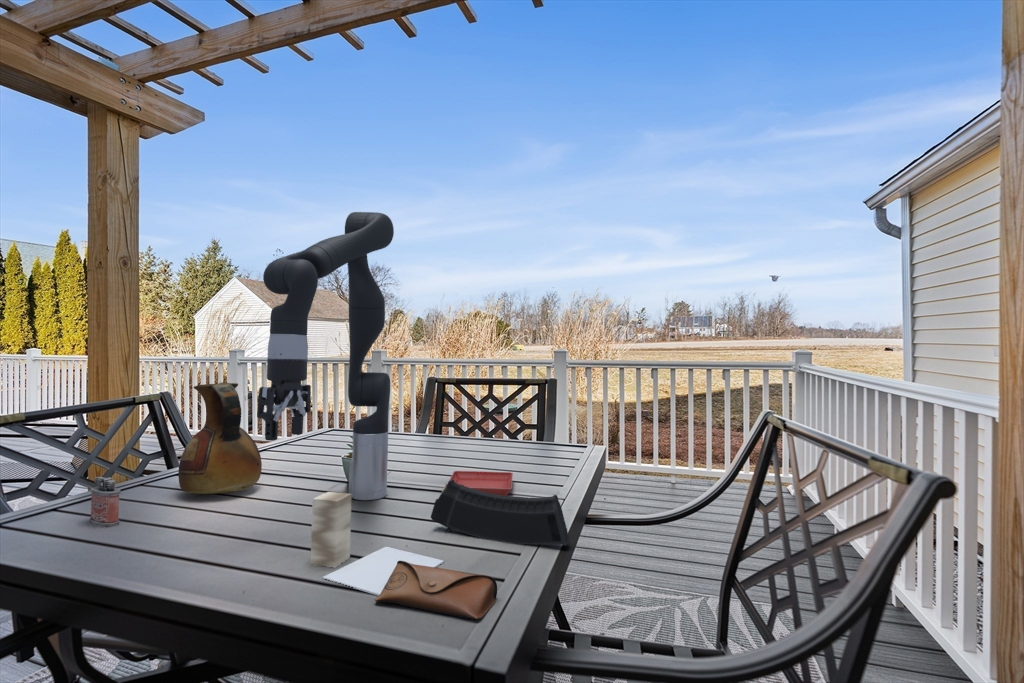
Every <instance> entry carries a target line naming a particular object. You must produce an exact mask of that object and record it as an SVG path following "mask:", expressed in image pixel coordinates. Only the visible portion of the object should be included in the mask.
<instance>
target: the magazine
mask: <svg viewBox="0 0 1024 683" xmlns="http://www.w3.org/2000/svg"><path fill="white" fill-rule="evenodd" d="M449 480H450V479H449ZM449 480H448V481H447V483H448V484H447V483H445V485H444V487H443V489H442V491H441V492H440V495H439V497H438V498H436V499H435V500H434V504H433V507H432V511H431V514H430V519H431V520H432V521H433V522H436V523H438V524H440V525H442V526H444V527H446V531H448V532H450V530H453V531H455V532H459V533H463V534H466V535H470V536H471V537H477V538H480V539H483V540H489V541H495V542H501V543H506V544H507V543H508V544H517V545H518V544H519V545H546V546H547V545H554V546H555V545H556V546H557V545H558V546H559V545H562V546H567V545H569V543H570V536H569V532H568V528H567V524H566V520H565V517H564V514H563V513H564V512H563V508H562V505H561V503H560V501H559V497H558V495H557V494H553V495H552V496H546V497H524V496H513V495H511V496H510V495H506V496H503V495H497V494H492V493H487V492H482V491H479V490H475V489H472V488H469V487H466V486H464V485H460V484H457V483H455V482H454V480H450V481H449Z"/></svg>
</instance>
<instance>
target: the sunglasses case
mask: <svg viewBox="0 0 1024 683" xmlns="http://www.w3.org/2000/svg"><path fill="white" fill-rule="evenodd" d="M497 595H498V583H497V580H496V579H495V578H494V577H492V576H490V575H486V574H473V573H467V572H463V571H456V570H452V569H447V568H441V567H436V568H435V567H429V566H422V565H415V564H411V563H408V562H405V561H398V562H397V565H396V567H395V569H394V570H393V572H392V574H391V576H390V577H389V579H388V581H387V583H386V585H385V586H384V588H383V590H382V592H381V594H380V595H379V596H378V595H377V597H375V598H374V601H375V602H378V603H379V602H380V603H381V602H382V603H390V604H396V605H401V606H405V607H409V608H410V607H411V608H415V609H419V610H420V609H421V610H425V611H428V612H433V613H437V614H440V615H446V616H451V617H452V616H453V617H459V618H466V619H473V620H474V619H475V620H480V619H482V618H483V617H484V616H486V615H487V613H488V612H489V611H490V610H491V609H492V607H493V605H495V603H496V600H497Z"/></svg>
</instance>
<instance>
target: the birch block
mask: <svg viewBox="0 0 1024 683" xmlns="http://www.w3.org/2000/svg"><path fill="white" fill-rule="evenodd" d="M351 522H352V497H351V494H348V493H347V492H346V493H345V492H336V491H335V492H334V491H327V492H323V494H320V495H318V496H316V497H314V498H312V502H311V533H310V534H311V536H310V537H311V541H310V566H313V565H316V566H315V567H321V566H326V567H325V568H330V567H333V568H332V569H336V568H338V567H339V566H340V565H342V564H343V563H345V562H346V561H347V560H348V558H349V557H350V558H351V534H352V533H351V531H352V530H351V528H352V523H351ZM350 558H349V559H350ZM346 559H347V560H346ZM345 560H346V561H345ZM342 562H343V563H342ZM341 563H342V564H341ZM337 566H338V567H337Z"/></svg>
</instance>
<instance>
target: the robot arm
mask: <svg viewBox="0 0 1024 683" xmlns="http://www.w3.org/2000/svg"><path fill="white" fill-rule="evenodd" d="M394 229H395V228H394V224H393V221H392V219H391V217H390V216H389V215H387V214H385V213H383V212H377V211H376V212H373V211H353V212H350V213H349V214H348V215H347V217H346V219H345V223H344V234H340V235H336V236H335V235H334V236H331V237H328V238H325V239H323V240H320V241H318V242H316V243H314V244H312V245H310V246H309V247H307V248H305V249H303V250H302V251H298V252H294V253H291V254H287V255H285V256H281V257H280V258H276V259H275V260H273V261H271V262H270V263H268V265H267V266H266V267H265V269H264V272H263V276H262V280H263V283H264V285H265V287H266V289H268V290H269V291H270V292H272V293H274V294H276V295H287V296H286V299H285V300H284V302H283V303H282V304H280V305H277V306H274V307H273V308H272V309H271V311H270V317H269V318H270V324H269V339H268V343H267V359H266V360H267V361H266V362H267V363H266V379H267V381H269V382H270V381H271V385H270V386H260V387H259V389H258V401H257V411H256V417H257V419H261V420H263V421H264V422H265V424H264V439H265V441H272V442H273V441H277V440H278V438H279V436H278V434H279V421H278V420H279V418H280V416H281V414H282V413H283V412H284V411H286V408H287V409H289V410H290V413H291V415H292V416H291V429H290V432H291V433H290V434H291V435H293V436H295V435H297V436H300V435H303V432H304V417H306V414H308V413H310V412H311V409H312V408H311V407H312V405H311V403H312V402H311V401H312V400H311V399H312V398H311V397H312V395H311V394H312V392H311V391H312V388H311V384H302V382H303V381H306V380H307V378H308V357H309V356H308V354H309V345H308V323H309V322H308V318H309V315H310V314H309V313H310V311H311V308H312V304H313V302H314V298H315V295H316V292H317V288H318V284H319V280H320V279H322V278H325V277H327V276H329V275H330V274H332V273H333V272H335V271H336V270H338V269H339V268H341V267H343V266H344V265H346V264H347V272H348V273H347V274H348V330H349V334H348V335H349V363H348V365H349V366H348V381H347V382H348V384H347V396H348V397H347V398H348V401H349V404H350V405H351V406H352V407H366V408H367V407H372V408H373V407H376V410H375V411H374V412H373V413H372V414H370V415H368V416H366V417H363V418H362V417H361V418H359V419H357V420H355V421H354V422H353V424H352V456H351V459H350V460H349V462H348V464H349V465H348V468H349V469H348V494H351V499H353V500H359V501H372V500H373V501H374V500H379V499H383V498H385V497H387V494H388V457H389V453H388V452H389V449H388V448H389V415H390V414H389V411H390V397H391V378H390V376H389V374H388V373H386V372H376V371H375V372H371V371H370V372H367V371H366V372H364V371H363V364H364V361H365V358H366V357H367V354H368V352H369V351H370V349H371V348H372V346H373V345H374V344H375V342H376V341H377V339H378V337H379V336H380V335H381V333H382V331H383V330H384V328H385V324H386V300H385V297H384V295H383V292H382V290H381V288H380V286H379V285H378V283H377V281H376V280H375V277H374V276H373V274H372V272H371V270H370V267H369V261H368V260H369V259H368V254H371V253H372V252H377V251H380V250H383V249H385V248H387V247H389V245H390V244H391V243H392V241H393V239H394V233H395V231H394ZM265 408H266V410H265ZM264 410H265V411H264Z"/></svg>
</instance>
